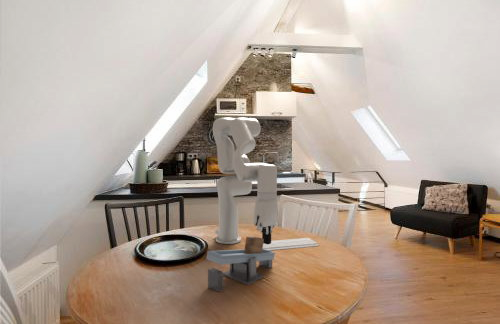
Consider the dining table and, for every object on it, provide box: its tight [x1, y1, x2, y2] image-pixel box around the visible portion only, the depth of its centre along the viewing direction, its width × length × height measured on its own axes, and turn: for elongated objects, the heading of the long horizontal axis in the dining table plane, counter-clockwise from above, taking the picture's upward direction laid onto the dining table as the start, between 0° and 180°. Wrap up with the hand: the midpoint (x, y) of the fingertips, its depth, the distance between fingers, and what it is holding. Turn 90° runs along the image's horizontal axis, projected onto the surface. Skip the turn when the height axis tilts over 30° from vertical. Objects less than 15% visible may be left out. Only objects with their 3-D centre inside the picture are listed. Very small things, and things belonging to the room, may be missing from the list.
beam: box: [206, 248, 275, 265], centre depth 111 cm, size 8×28×3 cm, turn 138°
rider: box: [244, 236, 264, 254], centre depth 115 cm, size 4×5×6 cm
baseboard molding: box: [263, 237, 320, 252], centre depth 146 cm, size 31×3×12 cm
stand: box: [207, 257, 273, 293], centre depth 111 cm, size 12×28×8 cm, turn 138°
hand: (266, 243), depth 121 cm, fingers closed
